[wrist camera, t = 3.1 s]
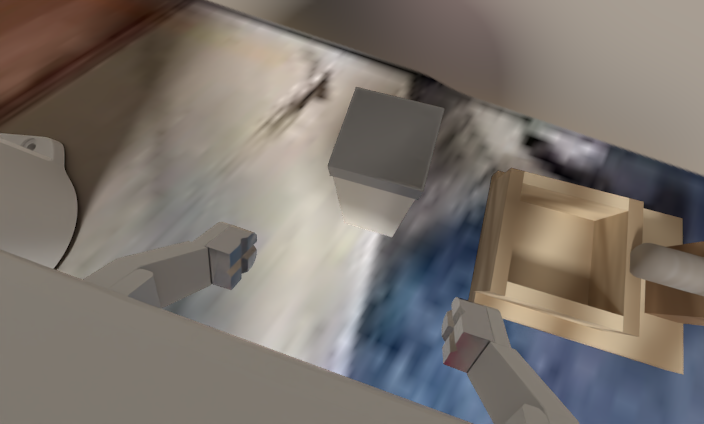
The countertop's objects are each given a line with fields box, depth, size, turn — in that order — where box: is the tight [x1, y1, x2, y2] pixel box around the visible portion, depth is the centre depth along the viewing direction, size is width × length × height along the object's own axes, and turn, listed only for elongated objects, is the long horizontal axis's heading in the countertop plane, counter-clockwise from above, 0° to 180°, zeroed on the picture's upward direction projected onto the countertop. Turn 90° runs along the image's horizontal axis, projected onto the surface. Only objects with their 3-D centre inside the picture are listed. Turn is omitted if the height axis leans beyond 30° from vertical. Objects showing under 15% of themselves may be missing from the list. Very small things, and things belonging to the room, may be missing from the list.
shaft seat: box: [468, 168, 704, 374], centre depth 20 cm, size 15×12×7 cm
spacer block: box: [328, 87, 444, 237], centre depth 19 cm, size 5×5×12 cm
